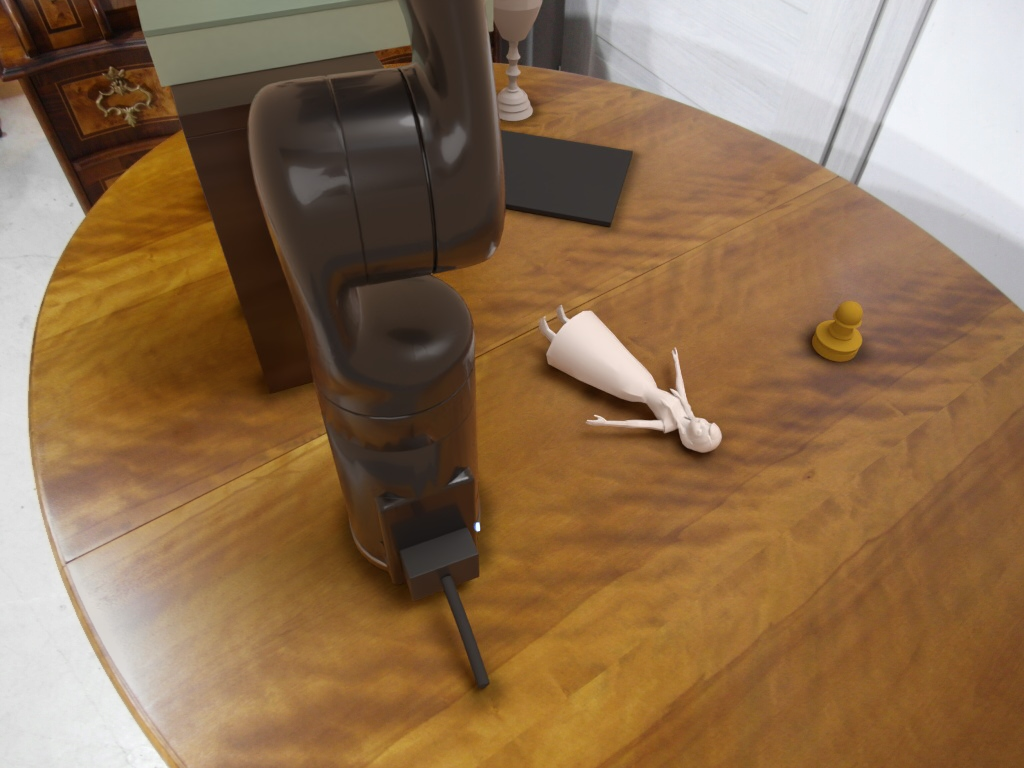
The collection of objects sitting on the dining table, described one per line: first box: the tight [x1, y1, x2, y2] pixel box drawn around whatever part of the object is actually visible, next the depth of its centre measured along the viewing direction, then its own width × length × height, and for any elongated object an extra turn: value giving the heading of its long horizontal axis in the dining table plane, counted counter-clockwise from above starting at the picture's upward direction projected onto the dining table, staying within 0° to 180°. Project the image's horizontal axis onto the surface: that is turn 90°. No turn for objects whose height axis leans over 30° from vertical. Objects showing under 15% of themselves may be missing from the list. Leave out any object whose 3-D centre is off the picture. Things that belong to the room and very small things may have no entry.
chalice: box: [493, 0, 544, 122], centre depth 88 cm, size 7×7×18 cm
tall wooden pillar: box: [169, 51, 385, 394], centre depth 60 cm, size 12×13×25 cm
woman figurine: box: [538, 304, 723, 454], centre depth 64 cm, size 12×4×18 cm
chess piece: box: [811, 300, 864, 363], centre depth 67 cm, size 4×4×5 cm
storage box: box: [135, 0, 494, 88], centre depth 51 cm, size 5×22×4 cm, turn 113°
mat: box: [501, 129, 634, 228], centre depth 86 cm, size 22×14×1 cm, turn 75°
